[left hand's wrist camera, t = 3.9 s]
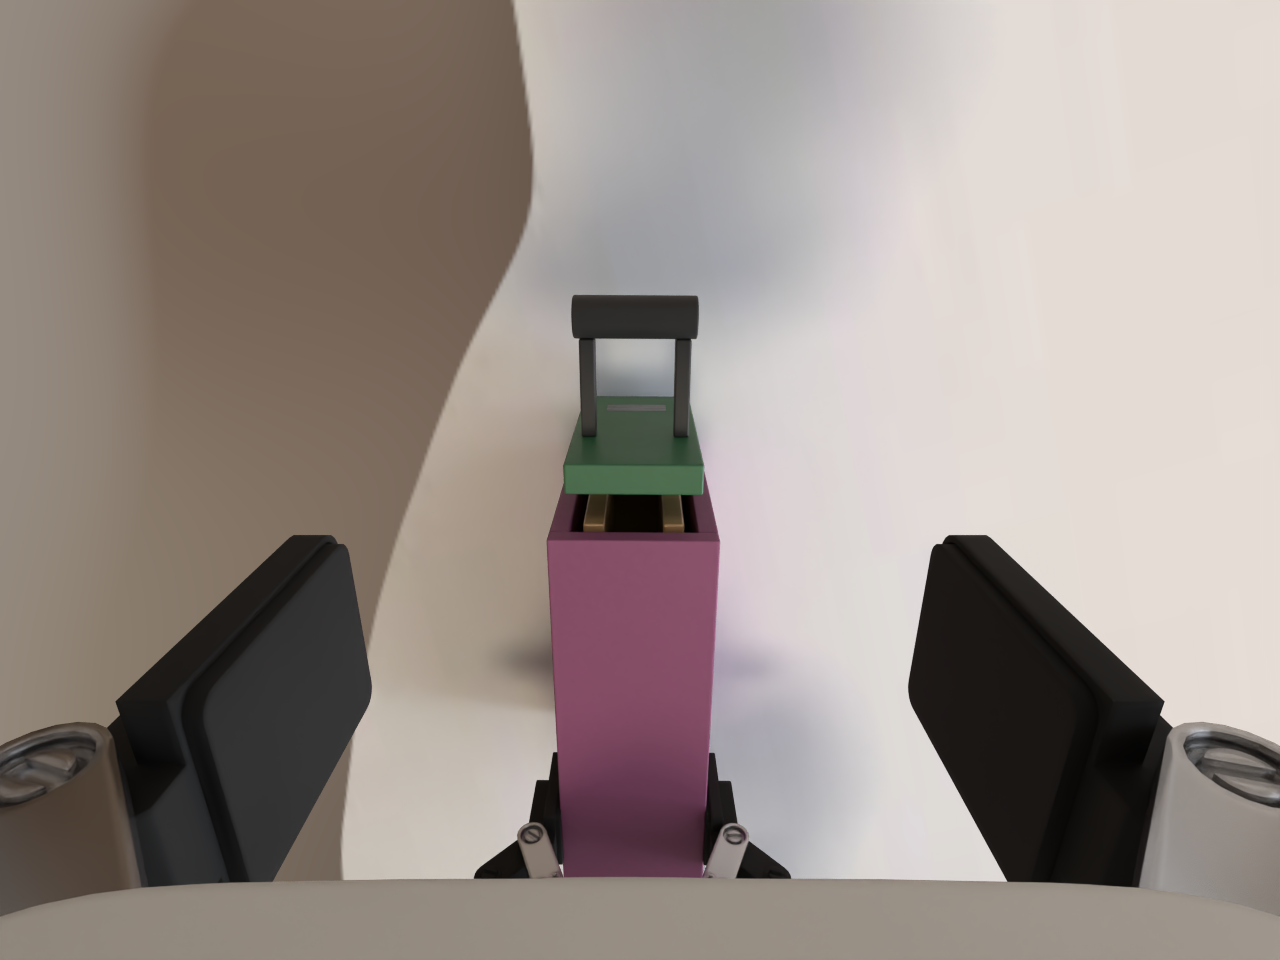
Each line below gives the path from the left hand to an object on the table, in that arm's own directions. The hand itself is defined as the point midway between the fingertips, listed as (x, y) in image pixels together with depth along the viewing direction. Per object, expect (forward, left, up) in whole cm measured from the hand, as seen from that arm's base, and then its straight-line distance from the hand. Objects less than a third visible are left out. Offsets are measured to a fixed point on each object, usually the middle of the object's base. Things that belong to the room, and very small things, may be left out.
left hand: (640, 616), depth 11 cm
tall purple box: (+13, -6, -24) cm, 28 cm away
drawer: (+7, -3, -23) cm, 25 cm away
